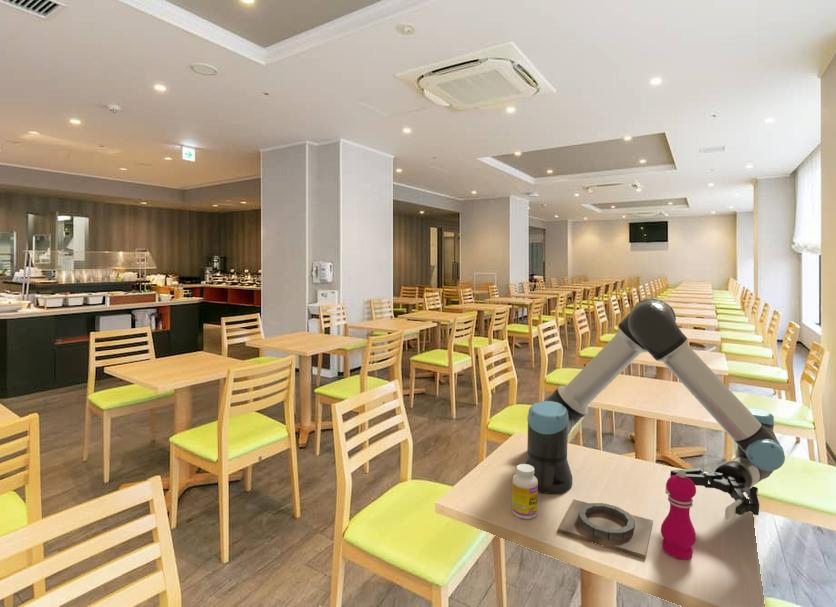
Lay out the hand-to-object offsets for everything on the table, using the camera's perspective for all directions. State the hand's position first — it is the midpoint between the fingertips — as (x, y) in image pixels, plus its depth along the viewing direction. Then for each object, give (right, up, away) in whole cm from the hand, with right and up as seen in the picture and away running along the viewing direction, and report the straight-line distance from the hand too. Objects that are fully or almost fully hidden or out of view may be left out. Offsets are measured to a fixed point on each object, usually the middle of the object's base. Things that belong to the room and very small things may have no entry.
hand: (695, 500), depth 112 cm
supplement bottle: (-37, -10, +15) cm, 41 cm away
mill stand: (-18, -10, +8) cm, 22 cm away
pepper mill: (-5, -11, -1) cm, 13 cm away
